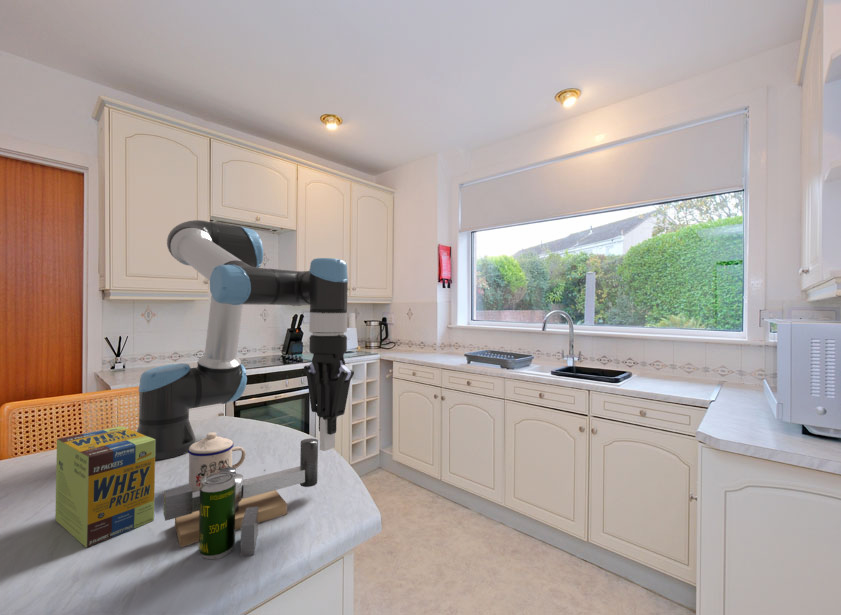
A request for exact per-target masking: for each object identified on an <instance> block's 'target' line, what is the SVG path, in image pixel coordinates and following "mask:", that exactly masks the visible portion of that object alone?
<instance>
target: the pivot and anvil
mask: <svg viewBox="0 0 841 615" xmlns="http://www.w3.org/2000/svg"><path fill="white" fill-rule="evenodd" d="M221 472H228V473H232V474H234V477H235V476H236V473H237V468H234V467H227V468H223V469H221V470H220V473H221ZM238 510H239V502H238V503H237V504H235V513H236V512H237V511H238ZM258 536H259V523H258V507H250V508H246V511H245V514H244V518H243V522H242V525H241V528H240V558H242V557H248V556H249V557H250V556H254V555H255V551H256V546H257V541H258Z"/></svg>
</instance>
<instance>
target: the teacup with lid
mask: <svg viewBox="0 0 841 615" xmlns="http://www.w3.org/2000/svg"><path fill="white" fill-rule="evenodd" d="M235 451H240V452H241V456H240V459H239V460H238V462H237V463H235V464H233V452H235ZM187 453H188V454H189V456H188V463H189V464H188V485H190V486H191V488H192V493H193V492H197V491H200V486H201V482H202V479H204V478H205V477H207V476H209V475H212V474H215V473H220V470H221V469H223V468H227V467H234V468H236V469H238V468H239V467H241V465H243V463H244V462H245V460H246V456H247V453H246V450H245V449H244V448H243V447H242V446H234V441H232V440H231V439H229V438H225V437H221V436H218V435H217V432H213V431H212V432H208V433H207V434H206V437H203V438H202V439H201V440H199V441H195V443H194V444H192V445H191V446H190V447H189V450H188V452H187Z"/></svg>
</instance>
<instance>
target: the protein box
mask: <svg viewBox="0 0 841 615" xmlns="http://www.w3.org/2000/svg"><path fill="white" fill-rule="evenodd" d="M55 463H56V464H55V465H56V469H55V470H56V471H55V517H54V518H55V521H56V523H58V524H59V525H60V526H61V527H62V528H64V529H65V530H66V531H67V532H68V533H69V534H70V535H71V536H73V538H75V539H76V540H77V541H78V542H79V543H80V544H81V545H83V546H84V547H85V548H86V549H87V548H89V547H92V546H95V545H96V544H98V543H101V542H102V543H103V541H106V540H107V541H108V540H110V539H111V538H114V537H116V536H119V535H121V534H124V533H126V532H128V531H132V530H135V529H136V528H139V527H141V526H143V525H146V524H148V523H149V524H150V523H151V522H154V520H155V487H156V480H155V479H156V477H155V476H156V472H155V471H156V460H155V439H153V438H150V437H147V436H145V435H143V434H140V433H138V432H137V431H135V430H132V429H130V428H128V427H126V426H122V425H121V426H116V427H112V428H111V427H110V428H105V429H101V430H95V431H90V432H85V433H79V434H76V435H70V436H69V435H68V436H65V437H59V438H57V439H56V462H55Z"/></svg>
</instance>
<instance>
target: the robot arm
mask: <svg viewBox="0 0 841 615" xmlns="http://www.w3.org/2000/svg"><path fill="white" fill-rule="evenodd" d="M166 246H167V250H168V252H169V253H170V255H171V256H172V258H174V259H175V260H176V261H177V262H179V263H180V264H182V265H185V266H190V267H192V268H193V269H194V270H195V271H197V272H198V273H200V274H201V276H203V277H204V278H205V279H207V280H208V281H209V291H210V293H211V294H210V295H211V296H210V304H209V313H208V320H207V321H208V322H207V328H206V329H207V330H206V340H205V349H204V354H203V355H202V356H201V357H199V358H198V360H197V367H191V366H190V364H188V363H175V364H174V363H172V364H166V365H165V364H164V365H160V366H155V367H152V368H150V369H146V370H145V371H144V372H142V374H141V375H140V377H139V387H138V392H139V393H138V394H139V396H138V398H139V399H138V402H139V403H138V427H137V430H136V432H138V433H140V434H143V435H145V436H147V437H150V438H153V439H155V461H157V460H164V459H169V458H175V457H178V456H181V455H182V456H183V455H185V454H186V453H188V450H189V447H190V446H191V445H192V444H194V443H196V436H195V433H194V430H193V428H192V424H191V422H190V416H189V415H190V410H191V409H196V408H197V409H198V408H202V407H210V406H215V405H225V404H227V403H230V402H235V401H237V400H238V399H240V398H241V397H242V395H244V392H245V389H246V387H247V382H248V377H247V370H246V367H245V366H244V365H243V364H242V360H241V359H240V358H239V357H238V356H237V353H238V345H239V339H240V331H241V330H240V329H241V324H242V317H243V316H242V314H243V309H244V308H243V307H244V305H246V306H247V305H251V306H253V305H254V306H255V305H257V306H258V305H259V306H260V305H264V306H265V305H266V306H267V305H269V306H270V305H273V306H277V305H278V306H294V307H296V306H297V307H300V306H309V326H308V327H309V329H308V332H309V333H312V334H311V335H310V336H309V348H308V350H309V353H310V354H313V356H312V358H311V363H310V364H308V365H304V366H303V370H304V374H305V376H306V381H307V387H308V395H309V402H310V403H309V404H310V410H311V412H312V413H316V416H317V417H318V432H319V451H322V452H326V451H327V452H328V451H330V450H332V449H335V448H336V433H337V424H338V423H337V418H338V417H340V416H343V415H345V411H346V405H347V401H348V396H349V390H350V384H351V380H352V378H353V377H354V374H355V371H354V370H353V369H349V368H348V367H347V366H346V361H345V358H344V357H345V356H344V355H345V353H346V352H347V350H348V336H347V335H346V334H345V333H347V331H348V290H349V289H348V282H349V278H348V265H347V263H346V261H345V260H343V259H340V258H332V257H320V258H319V257H317V258H314V259H312V260H311V262H310V266H309V270H306V271H300V270H290V269H289V270H288V269H278V268H277V269H276V268H265V267H261V265H262V264H263V261H264V245H263V242H262V239H261V236H260V235H259V233H258V232H257V231H255V230H254V229H252V228H248V227H243V226H240V225H239V226H238V225H234V224H233V225H232V224H224V223H217V222H213V221H212V222H211V221H207V220H199V219H198V220H196V219H195V220H188V221H184V222H181V223H178V224H177V225H176V226H174V227H173V228H172V229H171V230H170V232H169V233H168V235H167V239H166Z"/></svg>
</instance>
